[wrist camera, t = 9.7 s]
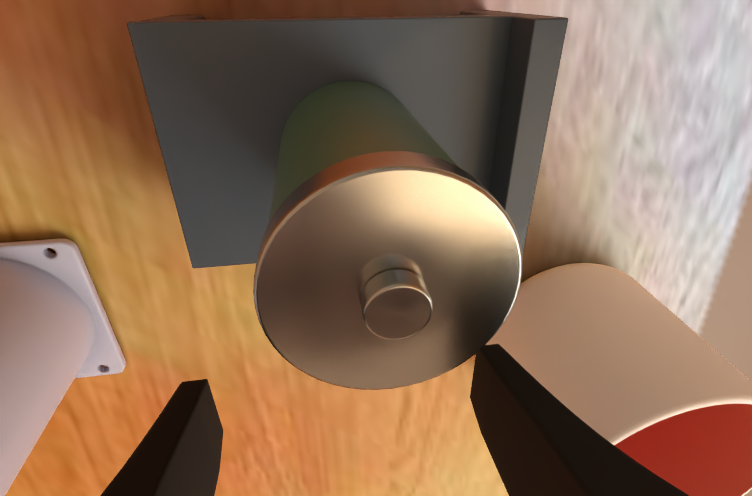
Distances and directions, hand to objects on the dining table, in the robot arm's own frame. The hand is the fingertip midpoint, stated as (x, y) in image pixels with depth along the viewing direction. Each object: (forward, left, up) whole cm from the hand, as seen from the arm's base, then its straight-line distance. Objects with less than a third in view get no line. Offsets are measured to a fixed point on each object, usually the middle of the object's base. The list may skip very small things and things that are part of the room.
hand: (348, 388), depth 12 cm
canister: (+1, +5, -6) cm, 8 cm away
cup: (+13, -8, -10) cm, 19 cm away
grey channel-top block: (+1, +5, -10) cm, 11 cm away
